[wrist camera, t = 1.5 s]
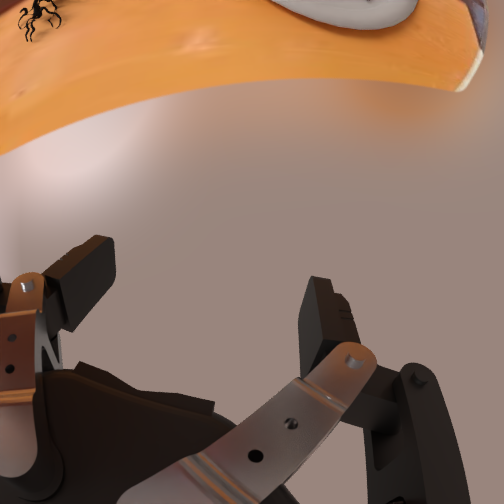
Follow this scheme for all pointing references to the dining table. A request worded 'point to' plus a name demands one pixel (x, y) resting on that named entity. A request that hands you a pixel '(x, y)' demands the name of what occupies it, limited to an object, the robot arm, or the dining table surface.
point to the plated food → (353, 12)
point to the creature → (37, 15)
